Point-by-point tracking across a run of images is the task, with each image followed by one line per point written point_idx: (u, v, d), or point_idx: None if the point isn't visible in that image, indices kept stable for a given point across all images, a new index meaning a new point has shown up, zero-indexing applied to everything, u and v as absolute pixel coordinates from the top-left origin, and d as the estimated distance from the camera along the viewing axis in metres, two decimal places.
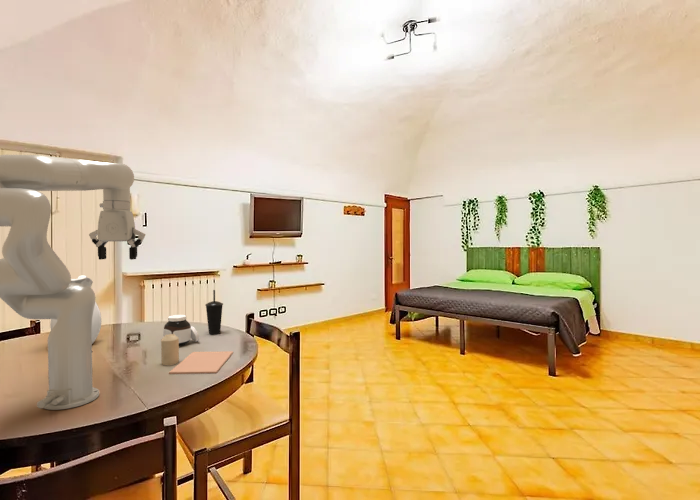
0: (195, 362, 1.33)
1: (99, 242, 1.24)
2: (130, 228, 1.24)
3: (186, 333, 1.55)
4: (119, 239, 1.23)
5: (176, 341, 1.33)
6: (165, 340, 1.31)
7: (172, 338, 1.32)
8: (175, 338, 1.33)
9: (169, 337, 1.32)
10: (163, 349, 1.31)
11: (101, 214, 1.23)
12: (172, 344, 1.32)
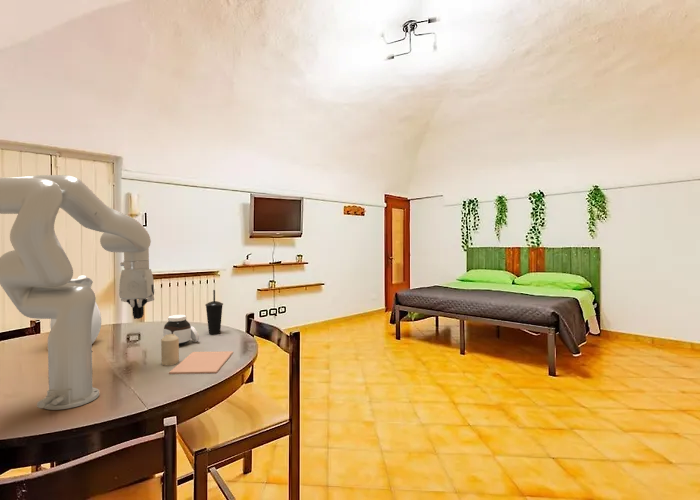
0: (195, 362, 1.33)
1: (131, 302, 1.32)
2: (150, 286, 1.32)
3: (186, 333, 1.55)
4: (139, 297, 1.30)
5: (176, 341, 1.33)
6: (165, 340, 1.31)
7: (172, 338, 1.32)
8: (175, 338, 1.33)
9: (169, 337, 1.32)
10: (163, 349, 1.31)
11: (122, 273, 1.30)
12: (172, 344, 1.32)
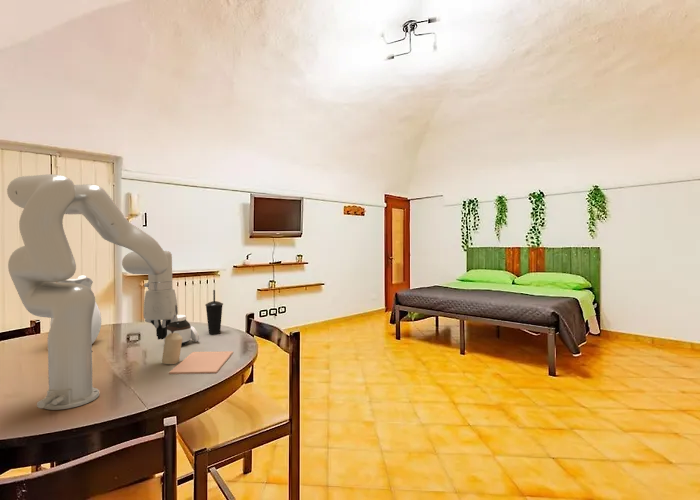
0: (195, 362, 1.33)
1: (155, 323, 1.33)
2: (174, 307, 1.32)
3: (186, 333, 1.55)
4: (164, 318, 1.31)
5: (180, 341, 1.34)
6: (169, 338, 1.32)
7: (176, 337, 1.33)
8: (179, 338, 1.33)
9: (173, 336, 1.33)
10: (166, 347, 1.32)
11: (147, 295, 1.31)
12: (176, 343, 1.32)
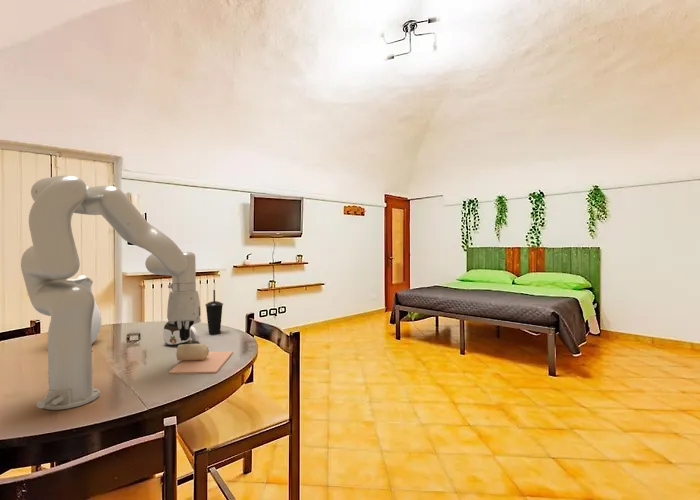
0: (195, 362, 1.33)
1: (178, 324, 1.33)
2: (197, 308, 1.33)
3: None
4: (187, 319, 1.31)
5: (200, 359, 1.34)
6: (202, 349, 1.34)
7: (203, 355, 1.34)
8: (203, 358, 1.34)
9: (205, 352, 1.34)
10: (193, 347, 1.34)
11: (170, 296, 1.31)
12: (197, 356, 1.33)
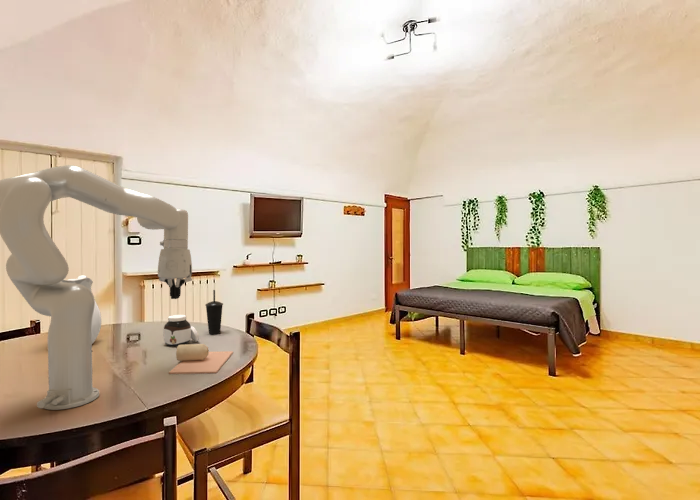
0: (195, 362, 1.33)
1: (169, 282, 1.30)
2: (188, 266, 1.30)
3: (186, 333, 1.55)
4: (178, 276, 1.29)
5: (200, 359, 1.34)
6: (202, 350, 1.34)
7: (203, 356, 1.34)
8: (203, 358, 1.34)
9: (205, 353, 1.34)
10: (193, 348, 1.34)
11: (162, 252, 1.29)
12: (197, 357, 1.33)
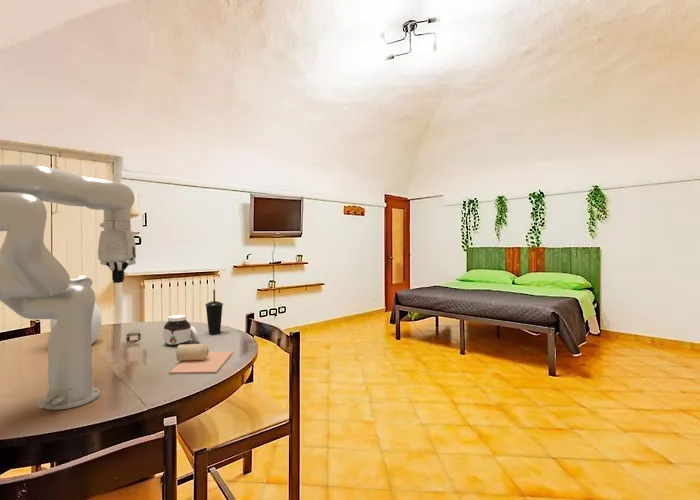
0: (195, 362, 1.33)
1: (111, 265, 1.25)
2: (130, 248, 1.25)
3: (186, 333, 1.55)
4: (119, 259, 1.23)
5: (200, 359, 1.34)
6: (202, 350, 1.34)
7: (203, 356, 1.34)
8: (203, 358, 1.34)
9: (205, 353, 1.34)
10: (193, 348, 1.34)
11: (102, 234, 1.23)
12: (197, 357, 1.33)
